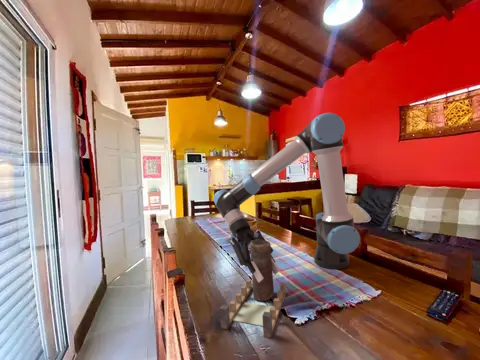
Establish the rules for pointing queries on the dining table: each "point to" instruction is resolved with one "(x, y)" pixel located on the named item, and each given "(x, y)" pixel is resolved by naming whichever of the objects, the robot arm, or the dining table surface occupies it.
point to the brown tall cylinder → (262, 269)
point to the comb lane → (252, 310)
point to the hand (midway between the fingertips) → (269, 276)
